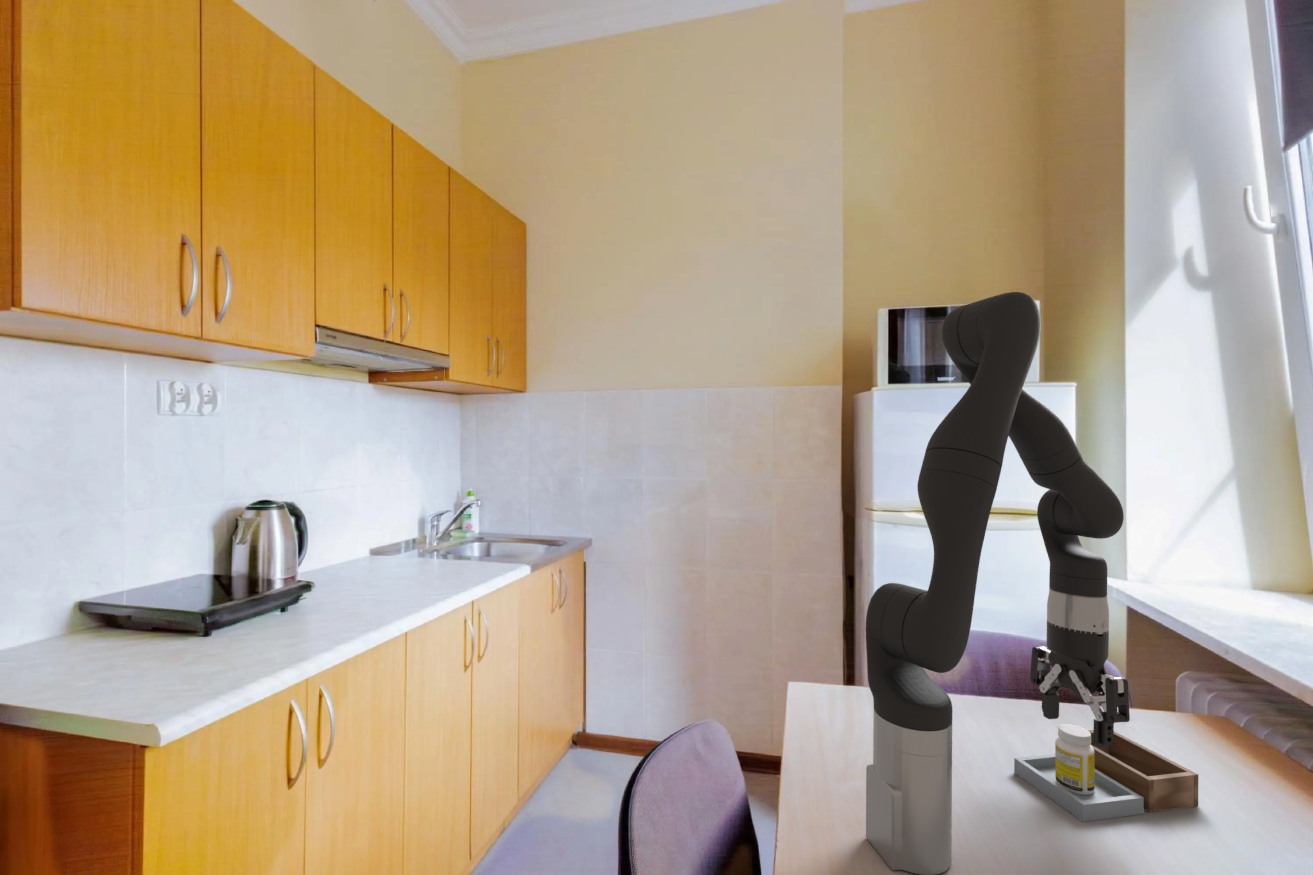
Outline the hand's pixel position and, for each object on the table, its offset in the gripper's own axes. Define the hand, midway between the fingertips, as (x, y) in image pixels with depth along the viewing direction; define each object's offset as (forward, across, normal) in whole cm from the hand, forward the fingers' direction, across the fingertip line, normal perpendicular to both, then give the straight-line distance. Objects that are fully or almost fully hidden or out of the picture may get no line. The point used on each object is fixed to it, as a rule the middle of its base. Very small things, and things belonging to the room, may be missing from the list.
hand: (1075, 731), depth 86 cm
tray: (+9, 0, 0) cm, 9 cm away
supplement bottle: (+9, 0, 0) cm, 9 cm away
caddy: (+9, -1, +11) cm, 14 cm away
